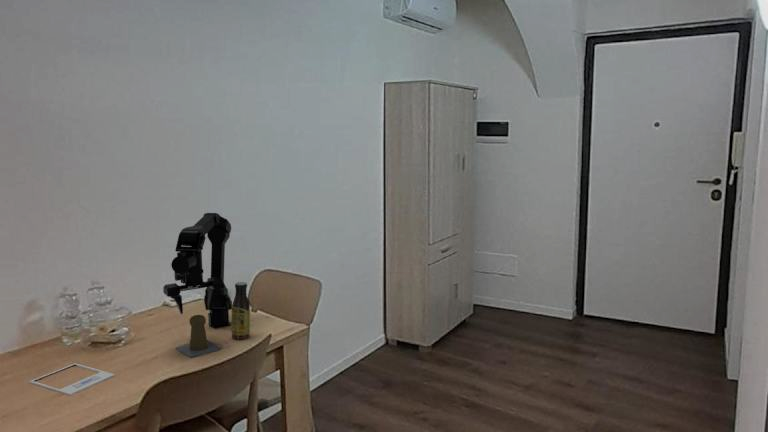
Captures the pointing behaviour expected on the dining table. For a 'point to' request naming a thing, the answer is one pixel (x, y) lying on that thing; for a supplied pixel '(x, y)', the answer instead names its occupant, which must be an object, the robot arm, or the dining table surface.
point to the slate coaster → (186, 350)
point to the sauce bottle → (240, 312)
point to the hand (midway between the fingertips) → (195, 311)
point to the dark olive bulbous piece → (198, 333)
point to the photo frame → (80, 384)
